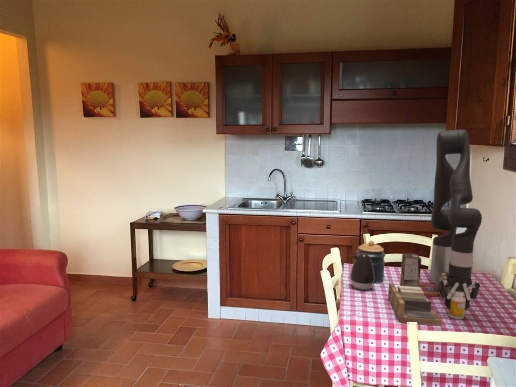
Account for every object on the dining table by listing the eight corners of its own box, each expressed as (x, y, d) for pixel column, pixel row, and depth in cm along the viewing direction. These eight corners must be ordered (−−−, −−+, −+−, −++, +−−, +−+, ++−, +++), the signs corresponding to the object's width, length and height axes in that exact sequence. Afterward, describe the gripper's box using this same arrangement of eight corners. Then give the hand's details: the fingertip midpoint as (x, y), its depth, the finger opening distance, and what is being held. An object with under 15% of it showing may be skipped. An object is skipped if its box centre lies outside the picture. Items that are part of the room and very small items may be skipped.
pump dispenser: (347, 283, 186) (349, 249, 184) (371, 284, 186) (373, 250, 184) (351, 291, 176) (353, 255, 174) (376, 292, 175) (378, 257, 174)
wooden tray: (387, 299, 168) (389, 282, 167) (424, 302, 166) (425, 285, 165) (398, 322, 146) (400, 303, 145) (441, 326, 144) (442, 306, 144)
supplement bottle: (444, 313, 156) (447, 287, 154) (458, 313, 156) (461, 287, 155) (452, 319, 150) (455, 293, 149) (467, 319, 151) (469, 293, 150)
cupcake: (466, 301, 168) (468, 277, 167) (441, 300, 169) (443, 276, 168) (456, 293, 178) (458, 270, 177) (433, 291, 178) (434, 268, 177)
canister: (353, 273, 201) (355, 236, 199) (381, 275, 199) (384, 238, 197) (356, 281, 188) (358, 243, 186) (385, 284, 187) (388, 245, 184)
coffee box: (418, 298, 170) (421, 259, 168) (402, 296, 172) (405, 258, 170) (415, 290, 179) (418, 253, 177) (399, 289, 180) (402, 252, 179)
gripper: (477, 261, 154) (473, 306, 156) (436, 259, 155) (433, 303, 157) (486, 267, 146) (481, 314, 148) (442, 264, 148) (438, 311, 150)
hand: (456, 308), depth 153 cm, fingers closed on supplement bottle, 5 cm apart
